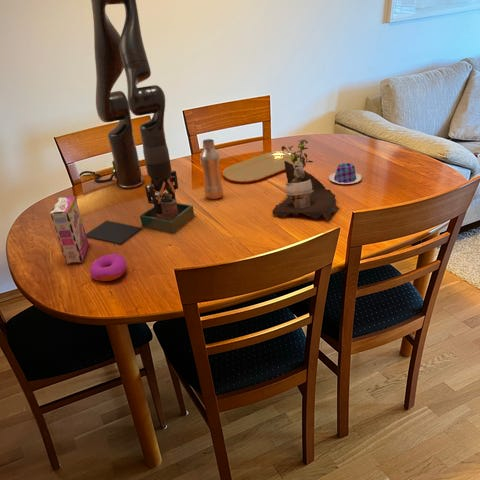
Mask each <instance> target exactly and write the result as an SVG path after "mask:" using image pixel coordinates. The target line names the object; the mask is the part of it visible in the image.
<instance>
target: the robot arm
mask: <svg viewBox="0 0 480 480" xmlns="http://www.w3.org/2000/svg"><path fill="white" fill-rule="evenodd" d="M90 2H91V10H92V19H93V41H94V42H93V43H94V45H93V49H94V62H95V63H94V65H95V76H96V83H95V107H96V113H97V116H98V118H99V120H100V121H101V122H103V123H112V122H118V123H117V124H116V125H115V127H113V128H112V129H111V130H110V131H108V133H107V139H108V142H109V147H110V150H111V155H112V158H113V160H112V161H111V164H112V167H113V172H112V174H110V177H109V178H107V179H99V178H100V177H101V175H100V174H99V173H98V174H99V176H98V174H95V171H92V170H83V171H82V172H80V173H79V175H78V177H82V176H83V175H85V174H90V175H91V174H92V173H93V174H92V175H95V176H96V177H94V182H96V183H106V182H111V181H112V180H113V179H116V183H117V186H119V187H120V188H122V189H135V188H137V187H140V186H142V185H143V184H144V174H142V170H141V169H142V168H141V164H140V159H139V154H138V150H137V145H136V140H135V136H134V129H133V128H134V127H133V123H132V122H133V121H132V116H131V113H132V114H133V115H134V116H138V117H140V116H145V115H151V114H153V115H152V117H151V118H150V119H149V120H147V121H145V122H143V123H141V124H140V126H139V133H140V138H141V143H142V144H141V145H142V152H143V153H142V154H143V158H144V162H145V167H146V173H147V175H148V177H149V178H150V183H149V184H145V185H144V189H145V194H146V198H147V203H148V204H151V205H152V204H153V206H154V207H155V212H156V213H157V214H162V213H163V211H162V206H161V203H160V202H161V197H162V196H163V193H165V191H166V193H167V194H172V199H174V200H176V201H177V199H176V198H177V197H176V190H178V189H179V181H178V175H177V171H176V170H172V164H171V159H170V152H169V148H168V143H167V139H166V134H165V133H166V132H165V125H164V124H165V112H166V94H165V92H164V90H163V88H161V86H159V85H157V84H152V85H145V86H140V87H138V85H139V84H140V83H142V82H145V81H147V80H149V78H150V77H151V75H152V70H151V67H150V63H149V60H148V56H147V51H146V49H145V44H144V41H143V36H142V30H141V25H140V17H139V12H138V10H139V9H138V4H137V0H90ZM110 5H123V6H124V11H125V19H124V24H123V28H122V30H121V34H120V33H119V31H118V30H117V28H116V27H115V26H114V24H113V23H112V22H111V20H110V18H109V16H108V15H107V12H106V6H110ZM123 72H124V73H125V77H126V78H125V79H126V84H127V85H126V86H127V96H126V94H125V92H124V91H122V90H116V91H115V90H114V91H112V89H113V87H114V86H115V84H116V83H117V82H118V80H119V78H120V77H121V75H122V74H123ZM156 196H158V198H157V199H156Z"/></svg>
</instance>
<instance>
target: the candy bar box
mask: <svg viewBox="0 0 480 480" xmlns="http://www.w3.org/2000/svg"><path fill="white" fill-rule="evenodd" d="M49 214H50V217H51V220H52V223H53V226H54V229H55V233H56V236H57V238H58V241H59V245H60V247H61V249H62V252H63V256H64V258H65V263H66V264H67V265H69V264H70V265H71V264H82V263H83V262H84V260H85V257H86V253H87V251H88V248H89V244H90V243H89V240H88V237H86V234H87V233H86V231H85V226H84V224H83V220H82V216H81V213H80V210H79V206H78V203H77V199H76V196H73V195H72V196H63V197H59V198H58V199H57V200H56V203H55V204H54V206H53V208H52V209H51V211H50V213H49Z"/></svg>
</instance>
